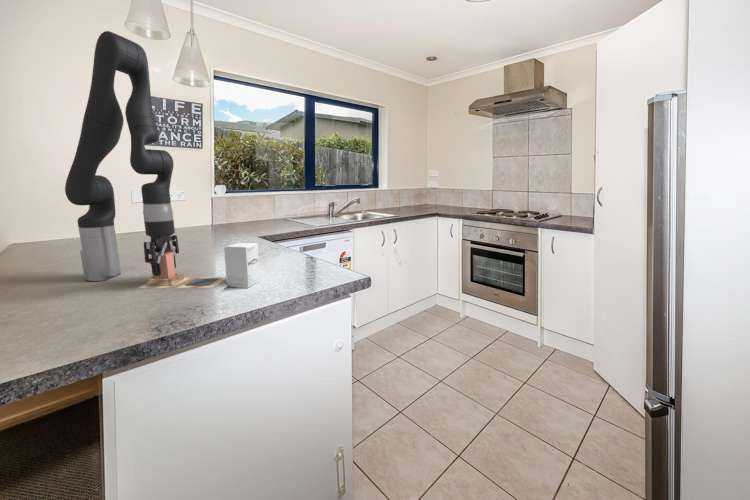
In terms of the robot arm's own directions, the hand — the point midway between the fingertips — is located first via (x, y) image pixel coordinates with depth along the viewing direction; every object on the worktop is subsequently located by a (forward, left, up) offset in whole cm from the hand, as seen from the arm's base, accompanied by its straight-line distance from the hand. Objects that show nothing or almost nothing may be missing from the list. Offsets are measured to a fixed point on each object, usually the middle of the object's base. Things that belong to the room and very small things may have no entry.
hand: (165, 272), depth 110 cm
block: (0, 0, -3) cm, 3 cm away
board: (+5, +1, -4) cm, 7 cm away
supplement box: (+22, +7, -5) cm, 24 cm away
